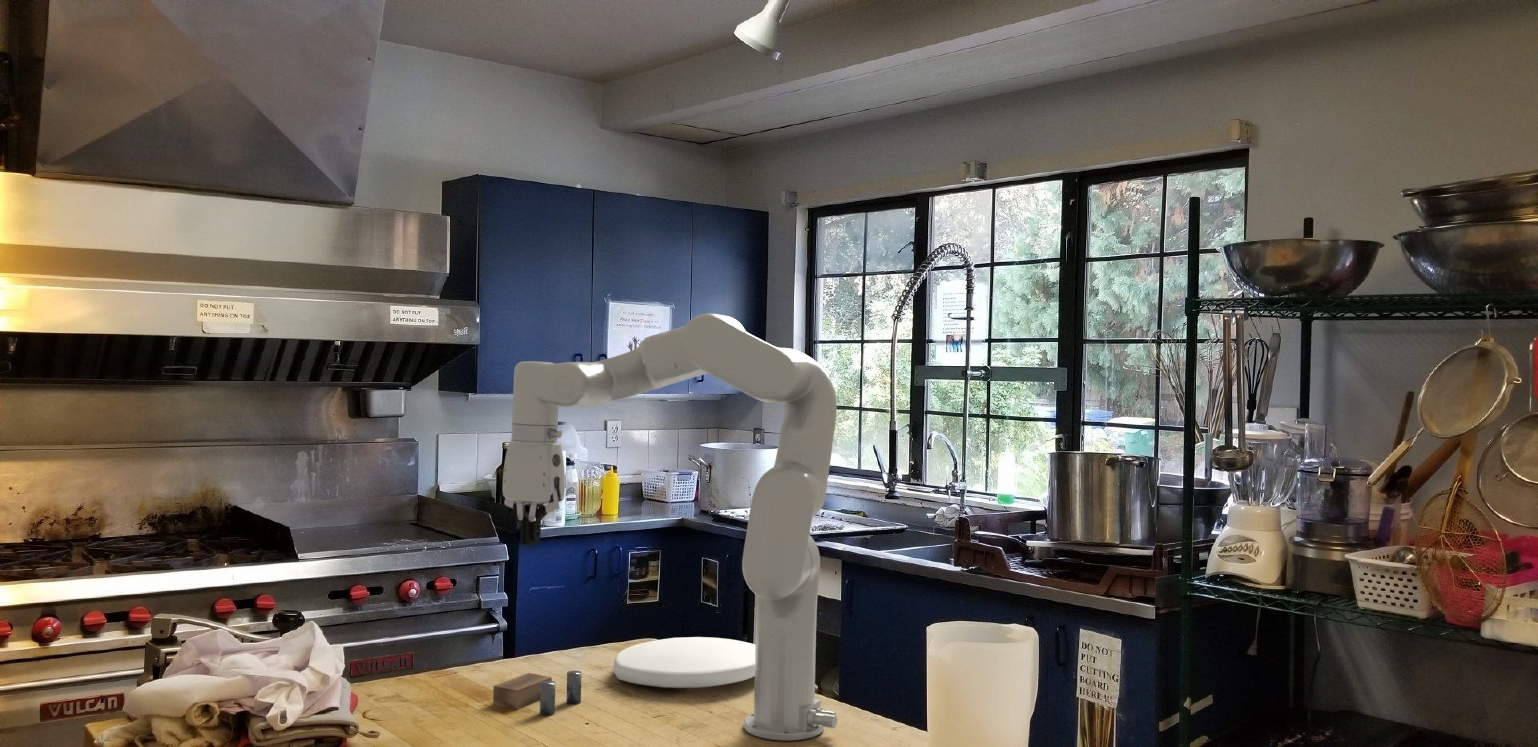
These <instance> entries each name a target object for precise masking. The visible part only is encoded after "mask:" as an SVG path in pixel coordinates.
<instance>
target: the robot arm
mask: <svg viewBox="0 0 1538 747" xmlns="http://www.w3.org/2000/svg"><path fill="white" fill-rule="evenodd" d="M705 375H710V376H711V377H714V378H715V379H718V380H719V381H722V382H724V383H725V384H727V385H728V386H731V387H733V388H734V389H736V390H738V391H739V392H741V393H744V394H746V395H747V396H749V397H751V398H753V399H755V400H758V401H760V402H764V403H769V404H772V403H773V404H775V403H782V404H783V407H784V413H783V414H784V416H783V420H782V423H781V426H780V430H779V438H778V445H777V450H776V451H777V452H776V455H775V461H774V464H773V465H774V466H773V467H771V468H770V469H768V470H767V471H765V473H763V474H762V476H761V477H760V478H759V480H758V481H757V483H756V486H755V488H754V489H753V493H752V497H751V503H750V509H749V516H748V522H747V527H746V532H745V533H746V534H745V535H746V536H745V541H744V546H743V554H742V561H741V562H742V567H741V569H742V574H743V578H744V580H745V583H746V584H747V586H748V588H749V589H750V590H751V591H752V592H753V593H754V594H755V595H757V600H756V616H755V617H756V618H755V643H754V644H755V676H754V696H753V698H754V700H753V701H754V702H753V703H754V705H753V712H752V713H750V714H748V715H747V716H746V717H745V718H744V720H743V728H744V729H745V731H746V732H748V733H749V734H751V735H752V736H754V737H758V738H760V739H765V740H771V741H772V740H773V741H800V740H801V741H803V740H806V739H807V740H808V739H811V738H814V737H817V736H818V735H820V734H821V733H823V732H824V728H828V729H835V728H836V727H837V724H838V717H837V714H836V713H837V712H836V711H831V710H824V709H823V708H822V707H821V699H818V698H815V697H816V692H815V691H816V690H815V688H816V652H817V651H816V647H817V642H816V641H817V613H818V612H817V611H818V593H819V583H820V577H821V576H820V574H821V556H820V551H819V547H818V545H817V542H816V541H815V539H813V537H812V536H811V535H810V534H811V528H812V527H811V526H812V520H813V518H814V517H815V516H816V515H817V514H818V513H819V512H820V511H821V510H822V509H823V507H824V504H825V501H826V499H827V498H826V497H827V491H828V490H827V489H828V488H827V486H828V481H829V480H828V479H829V475H830V474H829V472H830V465H831V460H832V452H833V445H834V444H833V443H834V438H835V437H834V435H835V429H836V422H837V412H838V411H837V410H838V409H837V396H836V391H835V388H834V385H833V382H832V381H831V378H830V377H829V374H828V373H827V372H826V371H825V369H824V368H823V367H822V366H821V365H820V364H819V363H818V362H817V361H816V360H814V358H812V357H810V356H809V355H807V354H806V353H804V352H801V351H799V350H798V349H794V348H788V347H777V346H775V345H772V344H770V343H768V342H767V341H764V340H763V339H761V338H759V337H757V336H755V335H753V334H751V333H749V332H747V331H746V329H745V328H744V326H743V324H741V322H739V320H737V319H735V317H732V316H729V315H724V314H720V313H719V314H718V313H713V312H712V313H709V312H707V313H702V314H698V315H697V316H694V317H693V318H691V319H689V321H688V322H687V323H686V324H685V325H683V326H679V327H677V328H673V329H669V330H667V331H664V332H663V331H662V332H660V333H656V334H652V335H649V336H647V337H646V338H644V339H643V340H642V341H641V343H640V345H638V346H637V347H636V348H634V349H632V350H630V351H627V352H625V353H622V354H619V355H615V356H612V357H608V358H605V359H602V360H598V361H594V362H590V361H589V362H588V361H568V362H559V363H554V362H550V361H538V360H537V361H536V360H535V361H534V360H532V361H530V360H529V361H527V360H526V361H524V360H523V361H520V362H518V363H516V365H515V367H514V372H513V390H512V391H513V392H512V393H513V394H512V416H511V418H512V420H511V438H510V439H511V440H510V441H509V442H508V445H507V448H506V453H505V459H504V465H503V473H502V496H503V497H504V498H505V499H504V501H503V502H504V505H505V506H506V507H508V508H511V509H513V510H514V511H515V513H516V515H517V519H518V520H519V521H520V531H519V532H520V538H519V539H520V540H519V543H520V545H525V546H533V545H538V544H539V543H540V541H541V532H542V531H541V529H542V521H544V519H545V516H547V515H548V514H549V513H551V512H557V511H559V510H560V504H559V502H562V501H563V500H564V499H565V493H566V492H565V490H566V487H565V486H566V485H565V484H566V482H565V479H566V478H565V477H566V476H565V462H564V455H563V448H562V444H560V443H558V439H560V438H562V435H563V432H562V430H561V429H560V430H559V429H558V427H559V426H558V422H559V420H558V419H559V406H560V407H563V408H564V407H565V408H573V409H574V408H584V407H587V408H588V407H597V406H602V405H607V404H610V403H614V402H616V401H621V400H625V399H626V398H627V399H628V398H631V397H633V396H634V397H635V396H637V395H641V394H643V393H646V392H649V391H653V390H659V389H661V388H664V387H666V386H670V385H673V384H677V383H680V382H683V381H686V380H690V379H693V378H696V377H700V376H705Z"/></svg>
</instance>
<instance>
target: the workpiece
mask: <svg viewBox="0 0 1538 747" xmlns="http://www.w3.org/2000/svg"><path fill="white" fill-rule="evenodd" d="M552 678H553V677H551V676H547V675H542V674H537V673H532V672H531V673H530V672H528V673H525V674H522V675H519V676H516V677H514V678H511V679H508V680H506V681H503V682H500V683H498V684H495V685H493V688H492V689H493V690H492V692H493V693H492V694H493V697H492V700H493V701H492V706H495V707H500V708H505V709H510V710H515V711H518V710H521V709H523V708H525V707H528V706H531V705H533V704H535V703H538V702H540V683H541V682H543V681H553V679H552Z"/></svg>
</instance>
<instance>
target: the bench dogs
mask: <svg viewBox="0 0 1538 747" xmlns="http://www.w3.org/2000/svg"><path fill="white" fill-rule="evenodd" d="M565 701H566V702H565V703H566V704H568V705H578V704H581V703H582V671H580V670H570V671H567V672H566V700H565ZM555 713H556V682H555V681H553V680H552V681H543V682H541V683H540V701H539V715H540V716H544V717H548V716H549V717H551V716H554V715H555Z"/></svg>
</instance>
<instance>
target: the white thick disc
mask: <svg viewBox="0 0 1538 747" xmlns="http://www.w3.org/2000/svg"><path fill="white" fill-rule="evenodd" d="M613 671H614V672H613V673H614V675H615V677H616V678H617V679H618V680H620V681H624V682H627V683H630V684H635V685H641V686H647V687H648V686H649V687H657V688H669V689H671V688H672V689H673V688H674V689H685V688H686V689H697V688H709V687H716V686H723V685H728V684H734V683H740V682H744V681H747V680H749V679H751V678H753V677H755V643H751V642H746V641H742V640H737V639H731V638H724V637H723V638H721V637H708V636H707V637H705V636H704V637H703V636H692V637H691V636H689V637H671V638H670V637H668V638H663V639H658V640H657V639H656V640H652V641H645V642H641V643H638V644H635V645H631V646H628V647H627V648H625V649H622V650H621V651H620V652H618V653H617V654H616V656H615V658H614V662H613Z"/></svg>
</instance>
